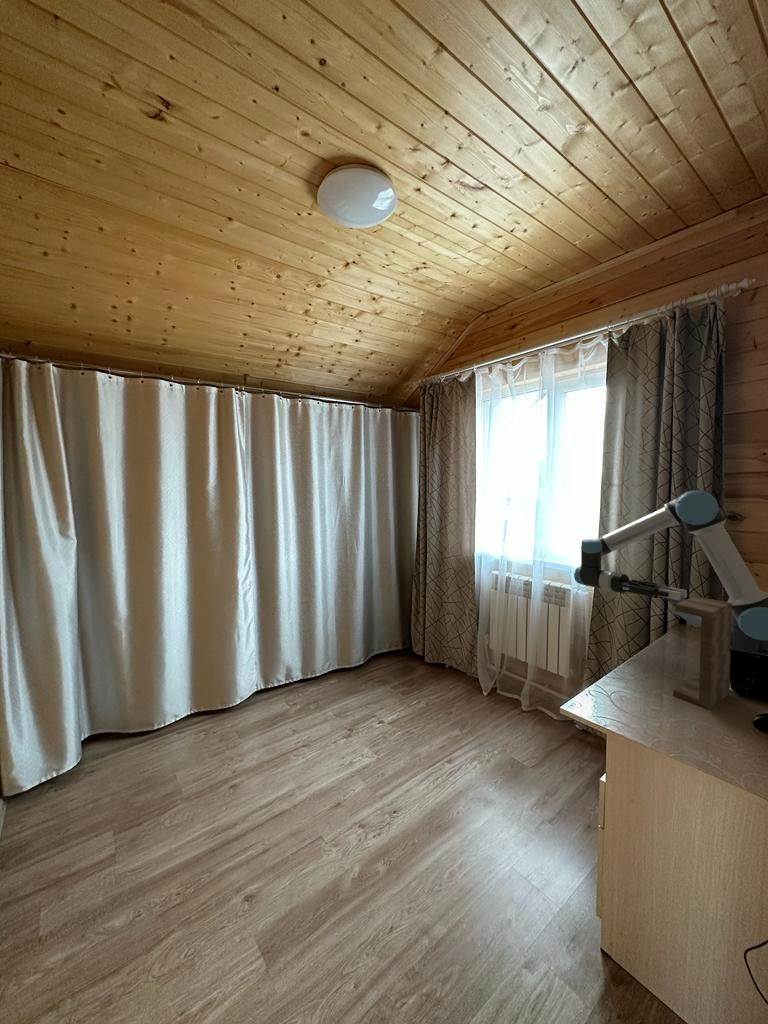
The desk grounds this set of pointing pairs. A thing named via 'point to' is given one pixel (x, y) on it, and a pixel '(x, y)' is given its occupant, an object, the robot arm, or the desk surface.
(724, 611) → the shelf stand
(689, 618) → the grey toy mallet
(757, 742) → the desk surface
